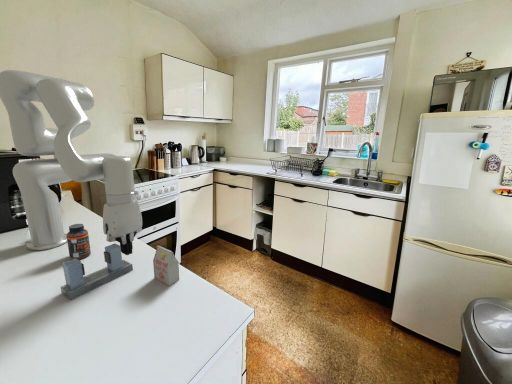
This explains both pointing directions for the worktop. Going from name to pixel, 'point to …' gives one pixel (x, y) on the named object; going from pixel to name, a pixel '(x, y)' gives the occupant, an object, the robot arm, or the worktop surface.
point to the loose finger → (113, 257)
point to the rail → (88, 277)
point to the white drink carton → (165, 266)
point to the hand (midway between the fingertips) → (127, 253)
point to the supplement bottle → (78, 242)
